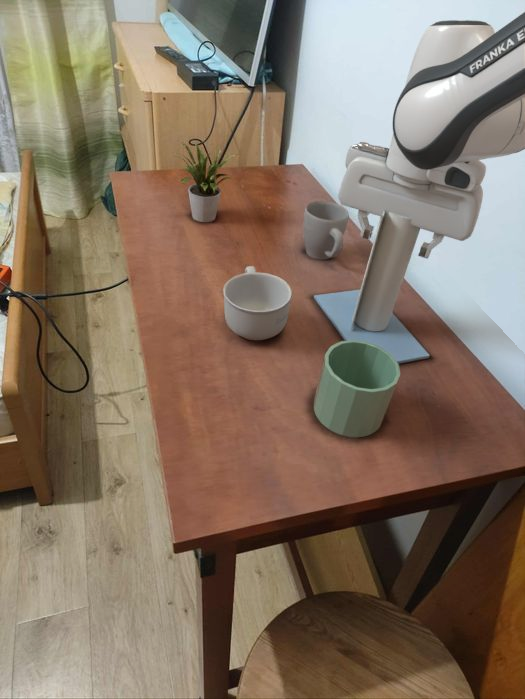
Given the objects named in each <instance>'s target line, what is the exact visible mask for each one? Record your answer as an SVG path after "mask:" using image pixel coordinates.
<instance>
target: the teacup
mask: <svg viewBox="0 0 525 699" xmlns="http://www.w3.org/2000/svg"><path fill="white" fill-rule="evenodd" d="M222 292H223V307H224V308H223V309H224V319H225V322H226V324H227V326H228V328H229V329H230V330H231V331H232V332H233V333H234V334H235V335H237V336H239V337H241V338H243V339H246V340H248V341H249V340H250V341H264V340H267V339H270V338H274V337H275V336H277V335H278V334H280V332H282V331H283V330H284V328H285V327H286V324H287V322H288V318H289V314H290V306H291V300H292V296H293V291H292V288H291V286H290V285H289V283H287V282H286V280H284V279H283V278H281V277H279V276H278V275H274V274H272V273H267V272H257V269H256V267H255V266H253V265H249V266H246V267H245V269H244V273H241V274H237V275H235V276H233V277H231V278H230V279H228V280H227V281H226V283H224V286H223V290H222Z"/></svg>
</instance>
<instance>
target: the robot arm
mask: <svg viewBox="0 0 525 699" xmlns="http://www.w3.org/2000/svg"><path fill="white" fill-rule="evenodd" d="M392 132H393V133H392V137H391V141H390V144H389V147H385V146H380V145H373V144H370V143H369V142H365V141H359V143H355V144H352V145H351V146H350V147H349V148H348V149H347V152H346V157H345V162H344V164H345V168H346V170H345V173H344V175H343V177H342V181H341V184H340V187H339V189H338V190H339V191H338V195H337V198H338V200H339V203H340V205H341V206H344V207H348V208H351V209H355V210H358V211H357V220H358V222H359V225H360V229H361V230H360V234H359V238H361V239H364V240H367V241H369V240H370V239H371V238H372V237H373V231H374V228H375V225H371V224H370V221H369V217H368V216H369V215H370V214H371V215H375V216H378V217H382V214H383V211H385V213H384V218H386V217H387V216H388V214H389V212H391V213H395V214H398V215H401V216H404V217H408V218H411V223H410V225H411V226H414V227H417V228H420V230H423V231H424V230H425V231H427V232H430V233H433V235H432V239H433V240H431V241H430V242H426V241H423V243H422V244H421V246H420V248H419V252H418V255H417V256H418V257H420V258H422V259H429V257H430V255H431V253H432V250H433V249H434V248H436V247H437V246H438V245H440V243H442V241H443V240H444V238H445V237H447V238H451V239H454V240H456V241H460V242H464V241H466V240H467V239H469V238H471V237H472V235H473V233H474V230H475V227H476V225H477V223H478V219H479V215H480V213H481V207H482V203H483V197H484V191H483V187H482V183H483V181H484V179H485V176H486V172H487V166H486V164H485V163H484V162H482V161H481V160H487V159H492V158H493V159H494V158H501V157H506V156H510V155H512V154H517V153H519V152H522V151H524V150H525V11H523V12H522V13H521V14H519V15H518V16H516V18H514V19H513V20H511V21H510V22H508V23H507V24H505V26H503V27H502V28H500V29H499V30H498V31H495V29H494V27H493V26H492V25H491V24H489V23H488V22H486V21H482V20H469V19H468V20H467V19H466V20H455V19H454V20H451V19H450V20H439V21H436V22H434V23H432V24H431V25H429V26H428V27H427V28H426V30H425V31H424V33H423V34H422V36H421V38H420V40H419V42H418V45H417V47H416V50H415V52H414V54H413V57H412V60H411V63H410V68H409V70H408V74H407V78H406V81H405V85H404V88H403V90H401V93H400V95H399V97H398V99H397V100H396V104H395V106H394V110H393V115H392Z"/></svg>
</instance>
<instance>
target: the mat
mask: <svg viewBox="0 0 525 699" xmlns="http://www.w3.org/2000/svg"><path fill="white" fill-rule="evenodd" d="M360 290H361V288H360V289H352V290H345V291H338V292H337V291H336V292H330V293H321V294H314V296H313V299H314V300H315V301H316V303H317V304H318V306H319V307H320V309H321V310H322V311H323V313H324V315H326V316H327V318H328V319H329V321H330V322H331V323H332V325H333V326H334V328H335V329H336V330H337V331H338V333H339V335H340V336H341V338H343V341H348V340H358V341H365V342H369V343H372V344H374V345H377V346H379V347H381V348H383V349H384V350H386V351H387V352H388V353H390V354H391V355H392V356H393V357H394V359H395V360H396V362H397V363H398V364H399V365H400V364H404V363H409V362H416V361H420V360H425V359H430V357H431V354H429V352H428V351H427V350H426V349H425V348H424V347H423V345H421V344H420V342H419V341H418V340H417V339H416V338H415V337H414V335H413V334H412V333H411V332H410V331H409V329H407V327H406V326H405V325H404V324H403V323H402V322H401V320H400V319H398V317H397V316H396V315H395V314H394V312H392V315H391V318H390V321H389V324H388V326H387V327H386V328H385V329H384V330H381V331H369V330H366V329H364V328H361V327H360V326H359V325H357V324H356V322H355V320H354V324H353V328H352V329H351V325H352V319H353V315H354V311H355V308H356V304H357V300H358V297H359V293H360ZM350 329H351V330H350Z"/></svg>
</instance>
